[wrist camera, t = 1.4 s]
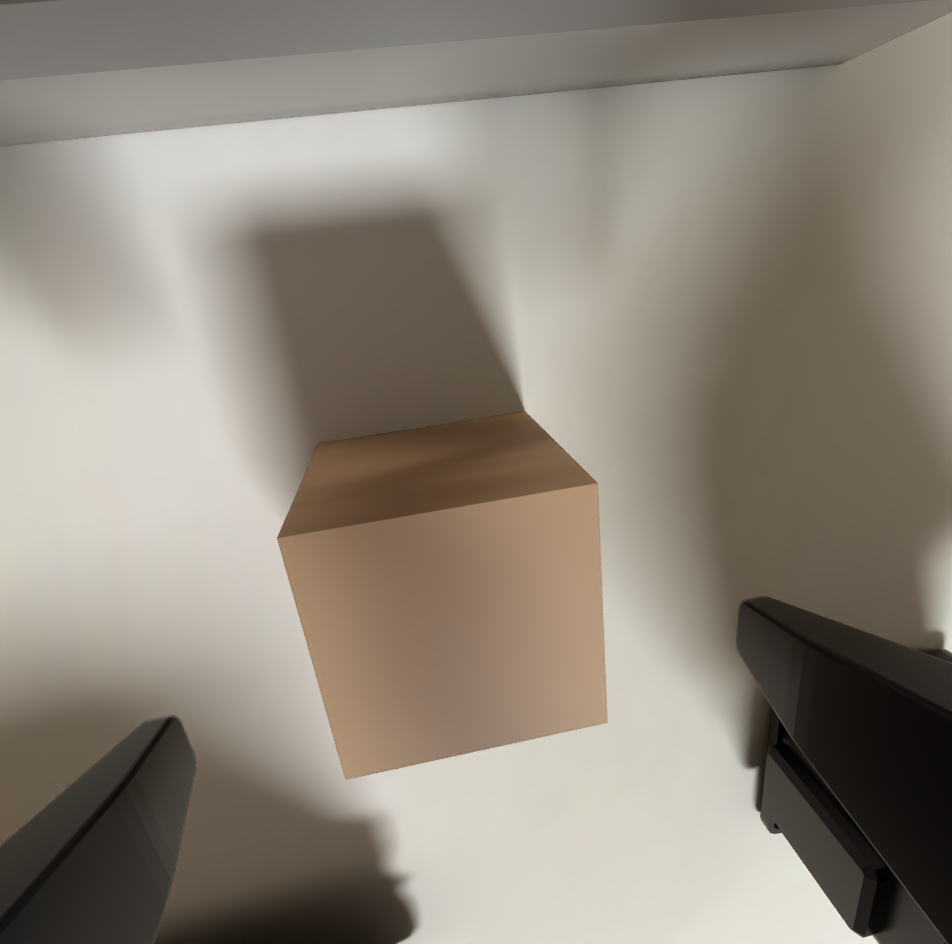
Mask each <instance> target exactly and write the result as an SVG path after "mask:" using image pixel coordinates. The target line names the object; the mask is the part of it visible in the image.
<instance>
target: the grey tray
mask: <svg viewBox="0 0 952 944" xmlns="http://www.w3.org/2000/svg"><path fill="white" fill-rule="evenodd" d="M950 12H952V0H0V146H5V145H15V144H26V143H36V142H46V141H56V140H67V139H77V138H87V137H98V136H108V135H118V134H128V133H139V132H149V131H159V130H169V129H180V128H190V127H200V126H210V125H221V124H231V123H241V122H252V121H262V120H272V119H282V118H293V117H303V116H313V115H323V114H334V113H344V112H354V111H364V110H375V109H385V108H395V107H405V106H416V105H426V104H436V103H447V102H457V101H467V100H477V99H488V98H498V97H508V96H518V95H529V94H539V93H549V92H559V91H570V90H580V89H590V88H601V87H611V86H621V85H631V84H642V83H652V82H662V81H672V80H683V79H693V78H703V77H713V76H724V75H734V74H744V73H755V72H765V71H775V70H785V69H796V68H806V67H816V66H826V65H837V64H842V63H844V62H846V61H848V60H850V59H852V58H854V57H857V56H859V55H861V54H863V53H865V52H867V51H869V50H871V49H873V48H876V47H878V46H880V45H882V44H884V43H886V42H888V41H890V40H893V39H895V38H897V37H899V36H901V35H903V34H905V33H907V32H910V31H912V30H914V29H916V28H918V27H920V26H922V25H924V24H927V23H929V22H931V21H933V20H935V19H937V18H939V17H941V16H943V15H946V14H948V13H950Z"/></svg>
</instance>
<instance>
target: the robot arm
mask: <svg viewBox="0 0 952 944" xmlns="http://www.w3.org/2000/svg"><path fill="white" fill-rule="evenodd" d="M736 644H737V649H738V651H739V654H740V656H741V658H742V659H743V661H744V662H745V664H746V666H747V667H748V669H749V670H750V672H751V674H752V675H753V677H754V679H755V680H756V682H757V683H758V685H759V687H760V688H761V690H762V691H763V693H764V695H765V696H766V698H767V700H768V701H769V703H770V704H771V716H770V726H769V736H768V746H767V755H766V765H765V775H764V785H763V795H762V805H761V815H760V817H761V821H762V822H763V824H764V825H765V826H766V828H767V829H768V831H769V832H770V833H773V834H777V833H783V835H784V836H785V838H786V839H787V840H788V842H789V843H790V845H791V846H792V847H793V849H794V850H795V852H796V853H797V855H798V856H799V857H800V859H801V860H802V862H803V863H804V864H805V866H806V867H807V869H808V870H809V871H810V873H811V874H812V876H813V877H814V879H815V880H816V881H817V883H818V884H819V886H820V887H821V888H822V890H823V891H824V893H825V894H826V896H827V897H828V898H829V900H830V901H831V903H832V904H833V905H834V907H835V908H836V910H837V911H838V913H839V914H840V915H841V917H842V918H843V920H844V921H845V922H846V924H847V925H848V927H849V928H850V929H851V930H852V931H854V932H855V933H857V934H858V935H859V936H861V937H863V938H864V937H868V936H871V935H873V937H874V938H875V939H876V941H877V942H878V943H879V944H952V653H951V652H950V651H948V650H937V651H932V652H928V653H922V652H920V651H917V650H914V649H911V648H909V647H906V646H903V645H900V644H898V643H895V642H892V641H889V640H886V639H884V638H881V637H878V636H875V635H873V634H870V633H867V632H864V631H862V630H859V629H856V628H853V627H850V626H848V625H845V624H842V623H839V622H837V621H834V620H831V619H828V618H826V617H823V616H820V615H817V614H815V613H812V612H809V611H806V610H803V609H801V608H798V607H795V606H792V605H790V604H787V603H784V602H781V601H779V600H776V599H773V598H770V597H767V596H760V597H755V598H750V599H745V600H743V601H741V602H740V604H739V606H738V615H737V631H736ZM195 771H196V758H195V754H194V751H193V749H192V746H191V744H190V741H189V739H188V737H187V734H186V732H185V729H184V727H183V725H182V722H181V720H180V719H179V718H178V717H177V716H175V715H168V716H163V717H158V718H153V719H149V720H147V721H145V722H143V723H142V724H141V725H140V726H138V727H137V728H136V729H135V730H134V731H133V732H132V733H130V734H129V735H128V736H127V737H126V738H125V739H123V740H122V741H121V742H120V743H119V744H118V745H117V746H115V747H114V748H113V749H112V750H111V751H110V752H108V753H107V754H106V755H105V756H104V757H103V758H101V759H100V760H99V761H98V762H97V763H96V764H95V765H93V766H92V767H91V768H90V769H89V770H88V771H86V772H85V773H84V774H83V775H82V776H81V777H79V778H78V779H77V780H76V781H75V782H74V783H73V784H71V785H70V786H69V787H68V788H67V789H66V790H64V791H63V792H62V793H61V794H60V795H59V796H57V797H56V798H55V799H54V800H53V801H52V802H51V803H49V804H48V805H47V806H46V807H45V808H44V809H42V810H41V811H40V812H39V813H38V814H37V815H35V816H34V817H33V818H32V819H31V820H30V821H29V822H27V823H26V824H25V825H24V826H23V827H22V828H20V829H19V830H18V831H17V832H16V833H15V834H13V835H12V836H11V837H10V838H9V839H8V840H6V841H5V842H4V843H3V844H2V845H1V846H0V944H154V942H155V939H156V936H157V932H158V929H159V926H160V922H161V919H162V916H163V913H164V909H165V906H166V903H167V899H168V896H169V892H170V889H171V885H172V882H173V877H174V873H175V869H176V864H177V860H178V855H179V850H180V845H181V840H182V835H183V830H184V825H185V820H186V815H187V810H188V806H189V801H190V796H191V791H192V786H193V781H194V776H195Z"/></svg>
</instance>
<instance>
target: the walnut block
mask: <svg viewBox="0 0 952 944" xmlns="http://www.w3.org/2000/svg"><path fill="white" fill-rule="evenodd" d="M277 540H278V543H279V547H280V550H281V554H282V558H283V561H284V565H285V568H286V572H287V575H288V579H289V582H290V586H291V589H292V593H293V596H294V600H295V603H296V607H297V610H298V614H299V617H300V621H301V624H302V628H303V631H304V635H305V638H306V642H307V646H308V649H309V653H310V656H311V660H312V663H313V667H314V670H315V674H316V677H317V681H318V684H319V688H320V691H321V695H322V698H323V702H324V705H325V709H326V712H327V716H328V719H329V723H330V727H331V730H332V734H333V737H334V741H335V744H336V748H337V751H338V755H339V758H340V762H341V765H342V769H343V772H344V776H345V779H346V780H347V779H351V778H356V777H361V776H365V775H370V774H374V773H379V772H384V771H388V770H393V769H397V768H402V767H407V766H411V765H416V764H420V763H425V762H429V761H434V760H439V759H443V758H448V757H452V756H457V755H462V754H466V753H471V752H475V751H480V750H484V749H489V748H494V747H498V746H503V745H507V744H512V743H517V742H521V741H526V740H530V739H535V738H540V737H544V736H549V735H553V734H558V733H562V732H567V731H572V730H576V729H581V728H585V727H590V726H595V725H599V724H604V723H607V699H606V674H605V650H604V626H603V601H602V577H601V553H600V528H599V504H598V483H597V482H596V481H595V480H594V479H593V478H592V477H591V476H590V475H589V474H588V473H587V472H586V471H585V470H584V469H583V468H582V467H581V466H580V465H579V464H578V463H577V462H576V461H575V460H574V459H573V458H572V457H571V456H570V455H569V454H568V453H567V452H566V451H565V450H564V449H563V448H562V447H561V446H560V445H559V444H558V443H557V442H556V441H555V440H554V439H553V438H552V437H551V436H550V435H549V434H548V433H547V432H546V431H545V430H543V429H542V428H541V427H540V426H539V425H538V424H537V423H536V422H535V421H534V420H533V419H532V418H531V417H530V416H529V415H528V414H527V413H526V412H525V411H524V412H518V413H511V414H505V415H499V416H492V417H486V418H479V419H473V420H467V421H460V422H454V423H448V424H441V425H435V426H428V427H422V428H416V429H409V430H403V431H396V432H390V433H384V434H377V435H371V436H365V437H358V438H352V439H345V440H339V441H333V442H326V443H320V444H318V446H317V448H316V450H315V452H314V455H313V457H312V459H311V462H310V464H309V466H308V468H307V471H306V473H305V475H304V478H303V480H302V482H301V485H300V487H299V489H298V491H297V494H296V496H295V498H294V501H293V503H292V505H291V507H290V510H289V512H288V514H287V517H286V519H285V521H284V524H283V526H282V528H281V530H280V533H279V535H278V537H277Z"/></svg>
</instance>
